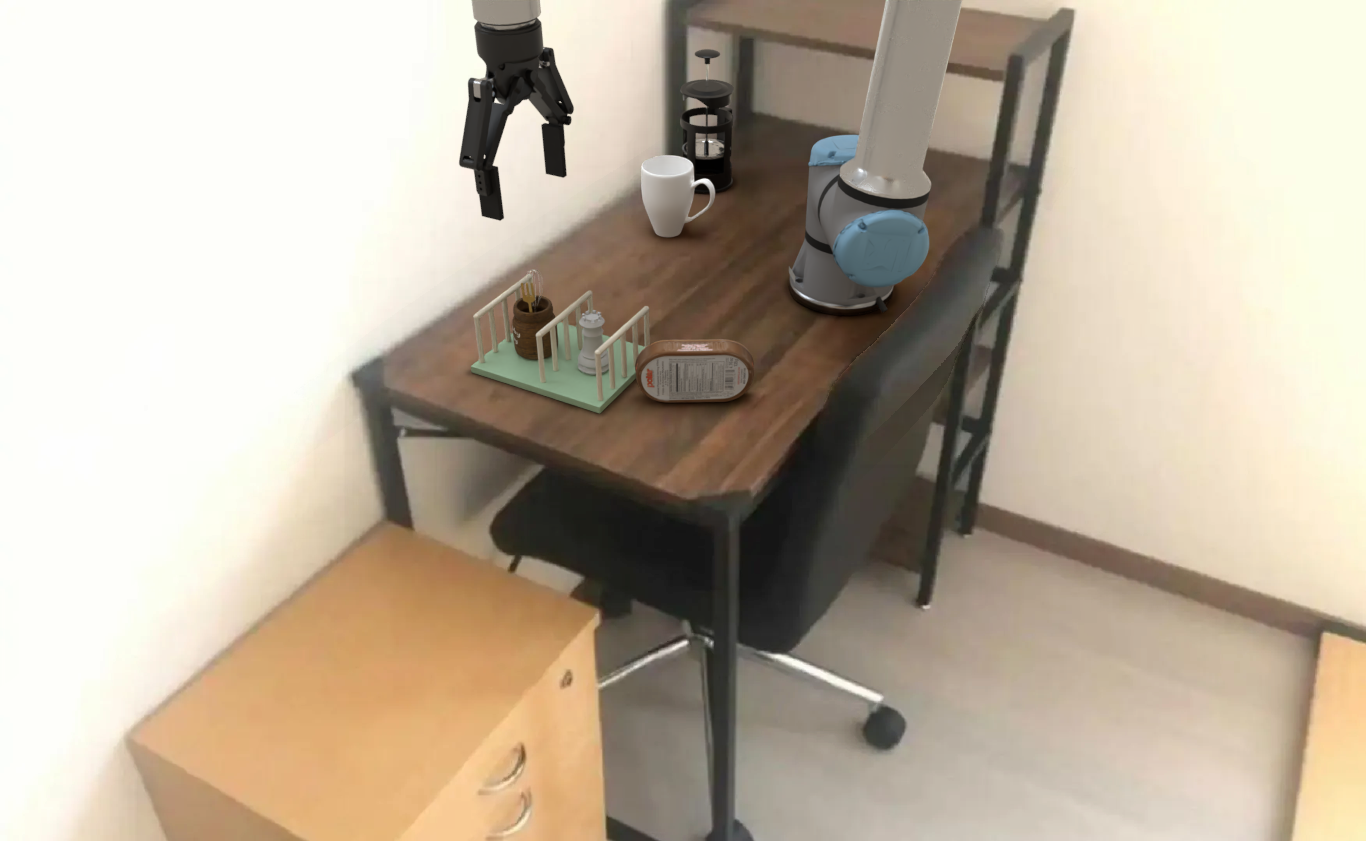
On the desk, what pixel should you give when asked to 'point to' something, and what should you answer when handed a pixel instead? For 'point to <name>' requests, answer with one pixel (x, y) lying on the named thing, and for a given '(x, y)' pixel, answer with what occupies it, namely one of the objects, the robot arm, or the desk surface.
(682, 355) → the tin
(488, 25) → the robot arm
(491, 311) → the drying rack
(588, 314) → the rook chess piece
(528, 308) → the utensil holder
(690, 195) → the mug
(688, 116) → the french press
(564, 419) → the desk surface
